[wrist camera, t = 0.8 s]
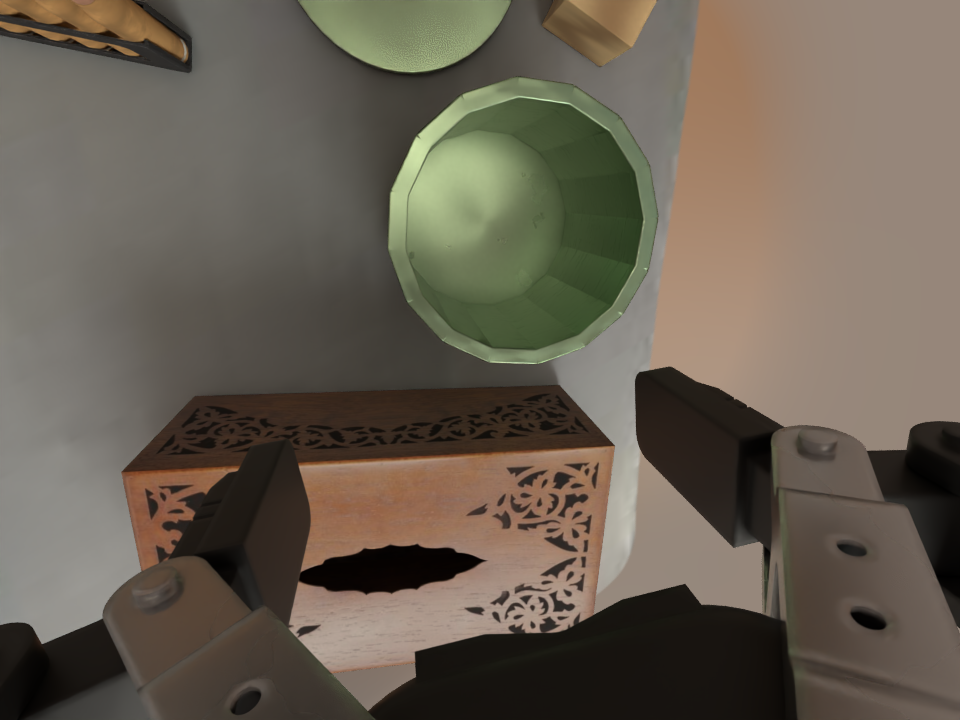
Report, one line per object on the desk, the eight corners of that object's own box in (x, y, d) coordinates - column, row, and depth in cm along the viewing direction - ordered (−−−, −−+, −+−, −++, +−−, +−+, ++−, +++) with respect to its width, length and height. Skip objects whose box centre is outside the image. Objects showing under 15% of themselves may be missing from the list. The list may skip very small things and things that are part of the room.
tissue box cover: (220, 572, 38) (166, 693, 29) (194, 396, 34) (121, 472, 25) (545, 544, 43) (589, 641, 33) (559, 385, 38) (614, 445, 29)
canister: (358, 153, 31) (343, 130, 20) (548, 93, 32) (629, 40, 21) (425, 337, 36) (441, 399, 25) (590, 280, 36) (676, 315, 26)
